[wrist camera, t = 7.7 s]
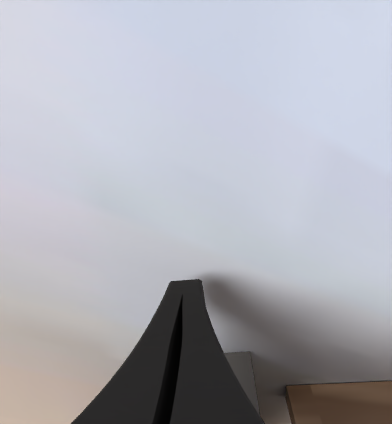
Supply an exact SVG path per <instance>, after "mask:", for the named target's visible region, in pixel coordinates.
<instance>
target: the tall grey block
mask: <svg viewBox="0 0 392 424" xmlns="http://www.w3.org/2000/svg"><path fill="white" fill-rule="evenodd" d="M224 354H225V356H226V358H227V361H228V362H229V364H230V366H231V368H232V370H233V372H234V374H235V376H236V377H237V379H238V381H239V383H240V384H241V386H242V388H243V390H244V391H245V393H246V395H247V397H248V398H249V400H250V401H251V403H252V405H253V406H254V408H255V409H256V411H257V412H258V414H259V416H260V413H259V406H258V400H257V393H256V387H255V381H254V374H253V368H252V361H251V355H250V352H235V353H224Z"/></svg>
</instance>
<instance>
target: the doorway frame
mask: <svg viewBox="0 0 392 424" xmlns="http://www.w3.org/2000/svg"><path fill="white" fill-rule="evenodd" d="M286 402H287V406H288V410H289V414H290V419H291V423H292V424H392V381H383V382H360V383H337V384H314V385H291V386H286Z"/></svg>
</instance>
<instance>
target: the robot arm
mask: <svg viewBox="0 0 392 424" xmlns="http://www.w3.org/2000/svg"><path fill="white" fill-rule="evenodd" d="M71 424H265V423H264V422H263V420H262V419H261V417H260V416H259V414H258V412H257V411H256V409H255V408H254V406H253V405H252V403H251V401H250V400H249V398H248V397H247V395H246V393H245V391H244V390H243V388H242V386H241V384H240V383H239V381H238V379H237V377H236V376H235V374H234V372H233V370H232V368H231V366H230V364H229V362H228V361H227V358H226V356H225V354H224V352H223V350H222V348H221V346H220V344H219V341H218V339H217V337H216V334H215V332H214V329H213V327H212V324H211V321H210V318H209V315H208V312H207V309H206V305H205V299H204V292H203V286H202V281H201V280H199V279H195V280H182V281H171V282H170V283H169V285H168V288H167V290H166V292H165V295H164V297H163V299H162V301H161V303H160V305H159V307H158V309H157V311H156V313H155V314H154V316H153V318H152V320H151V322H150V324H149V325H148V327H147V329H146V330H145V332H144V333H143V335H142V337H141V338H140V340H139V342H138V343H137V345H136V346H135V348H134V349H133V351H132V352H131V353H130V355H129V356H128V358H127V359H126V360H125V362H124V363H123V365H122V366H121V367H120V368H119V370H118V371H117V372H116V374H115V375H114V376H113V377H112V379H111V380H110V381H109V382H108V384H107V385H106V386H105V387H104V388H103V389H102V391H101V392H100V393H99V394H98V395H97V396H96V397H95V398H94V400H93V401H92V402H91V403H90V404H89V405H88V406H87V407H86V408H85V409H84V411H83V412H82V413H81V414H80V415H79V416H78V417H77V418H76V419H75V420H74V421H73V422H72V423H71Z"/></svg>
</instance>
